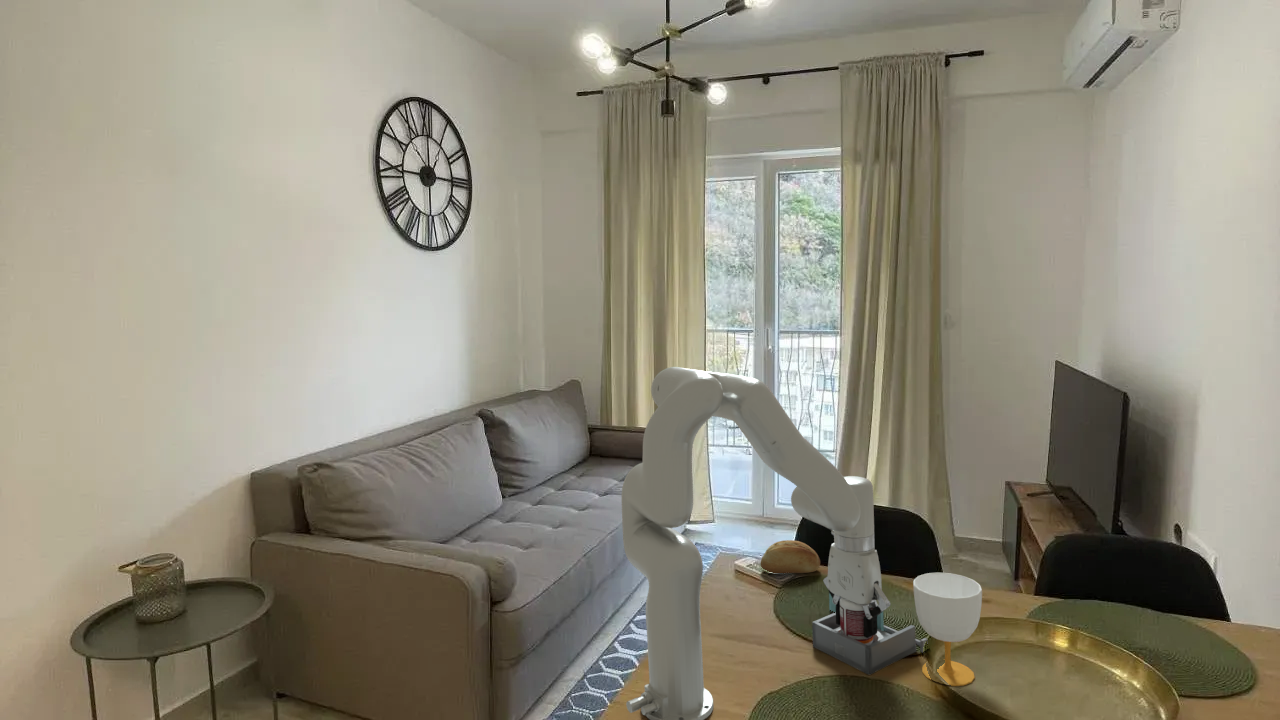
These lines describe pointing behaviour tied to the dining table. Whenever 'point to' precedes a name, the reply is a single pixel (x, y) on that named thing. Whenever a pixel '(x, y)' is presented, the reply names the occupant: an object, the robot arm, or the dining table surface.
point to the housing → (864, 645)
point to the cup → (948, 617)
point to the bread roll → (790, 558)
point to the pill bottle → (853, 621)
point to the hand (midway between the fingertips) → (856, 628)
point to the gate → (879, 618)
